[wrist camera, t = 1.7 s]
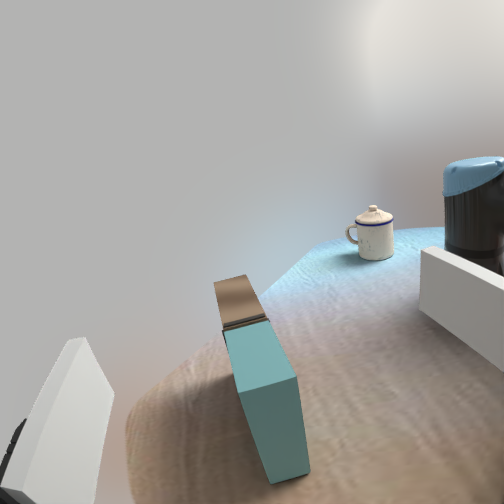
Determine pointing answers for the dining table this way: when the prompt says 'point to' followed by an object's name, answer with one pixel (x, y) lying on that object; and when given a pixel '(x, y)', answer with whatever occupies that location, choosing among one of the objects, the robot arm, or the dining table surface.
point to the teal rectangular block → (269, 400)
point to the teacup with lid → (373, 234)
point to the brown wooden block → (238, 304)
